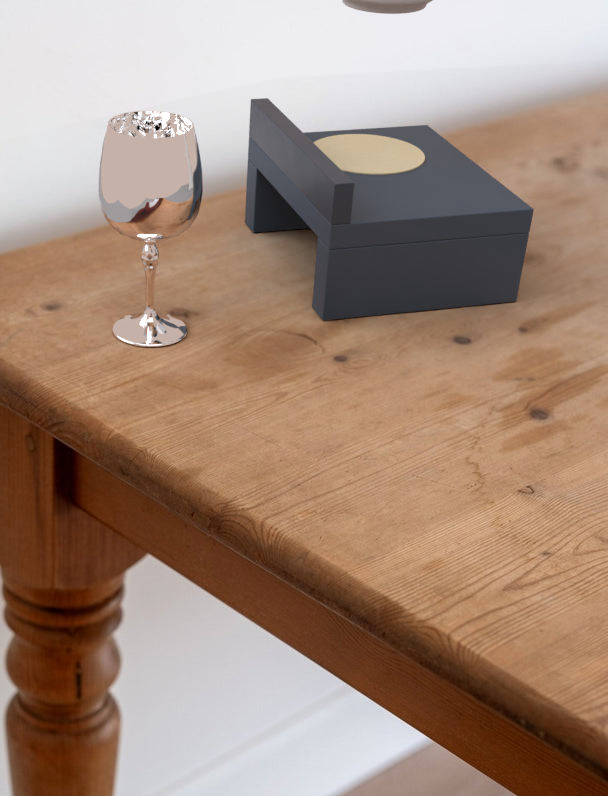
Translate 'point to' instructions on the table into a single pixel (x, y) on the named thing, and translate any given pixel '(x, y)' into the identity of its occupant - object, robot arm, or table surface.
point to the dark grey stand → (386, 216)
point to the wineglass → (150, 202)
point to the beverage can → (387, 5)
